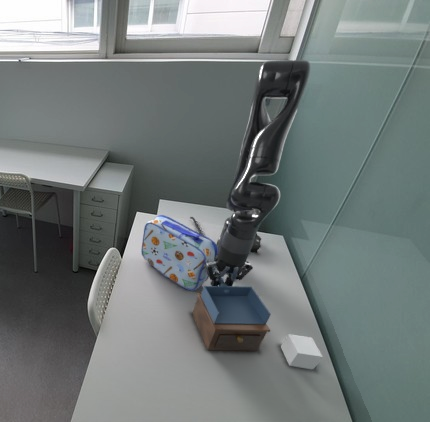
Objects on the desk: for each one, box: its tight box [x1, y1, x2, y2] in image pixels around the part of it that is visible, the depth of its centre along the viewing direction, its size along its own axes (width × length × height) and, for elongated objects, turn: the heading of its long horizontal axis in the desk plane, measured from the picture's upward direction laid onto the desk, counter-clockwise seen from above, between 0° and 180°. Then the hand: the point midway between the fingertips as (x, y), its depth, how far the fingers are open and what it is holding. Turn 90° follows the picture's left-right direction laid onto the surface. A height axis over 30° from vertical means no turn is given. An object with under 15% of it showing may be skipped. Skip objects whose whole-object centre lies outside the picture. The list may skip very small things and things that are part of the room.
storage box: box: [191, 292, 271, 352], centre depth 92 cm, size 15×15×10 cm
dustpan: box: [200, 267, 272, 325], centre depth 93 cm, size 20×14×4 cm
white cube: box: [280, 333, 324, 370], centre depth 86 cm, size 6×6×6 cm
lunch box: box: [141, 214, 218, 291], centre depth 112 cm, size 28×10×22 cm, turn 37°
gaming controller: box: [250, 232, 262, 254], centre depth 130 cm, size 14×6×10 cm
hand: (220, 287), depth 97 cm, fingers open, 3 cm apart
